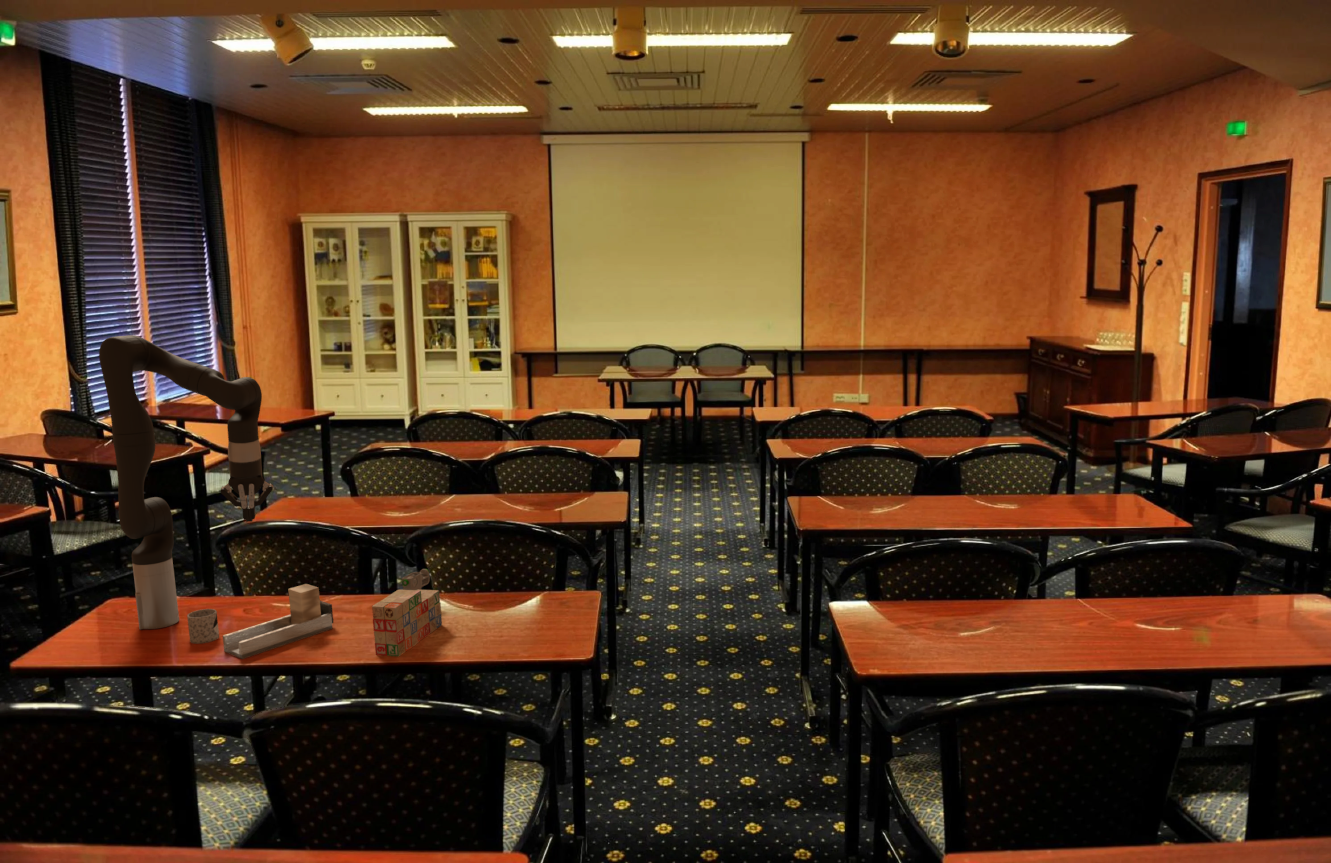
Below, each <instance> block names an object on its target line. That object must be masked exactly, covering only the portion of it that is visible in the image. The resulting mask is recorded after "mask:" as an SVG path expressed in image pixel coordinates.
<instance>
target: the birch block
mask: <svg viewBox="0 0 1331 863" xmlns="http://www.w3.org/2000/svg"><path fill="white" fill-rule="evenodd" d="M319 590H320V589H319V586H318V587H317V586H315V585H311V584H308V583H304V584H300V585H298V586H294V587H290V588H288V599H289V610H290V612H289V614H291V623H292V625H293V624H296V623H299V622H303V621H306V620H309V619H312V618H315V617H318V616H321V609H320V601H321V600H320V591H319Z"/></svg>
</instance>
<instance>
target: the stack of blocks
mask: <svg viewBox="0 0 1331 863" xmlns="http://www.w3.org/2000/svg"><path fill="white" fill-rule="evenodd" d="M441 603H442V602H441V599H440V590H438V589H437V590H436V589H435V590H434V589H421V590H403V589H397V590H396V591H394V592H392V593H390V594H389V595H388V596H386V597H385V598H383V599H381V600H380V601H378V602H376V603H374V604H373V605H372V606H371V611H372V612H371V613H372V626H373V627H372V628H373V634H374V648H375V655H377V656H387V657H388V656H390V657H400V656H402V655H403V654H405V653H406V652H407V651H409V650H411V647H412V648H413V647H414V646H416V645H417V644H418V643H419V642H420V641H422V640H423V639H425V638H426V637H427V636H429V634H431V633H433V632H434V631H435V630H436V629H438V628H440V627H441V626H443V621H442V607H441V606H442V605H441ZM402 653H403V654H402ZM401 654H402V655H401Z"/></svg>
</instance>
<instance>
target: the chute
mask: <svg viewBox="0 0 1331 863" xmlns="http://www.w3.org/2000/svg"><path fill="white" fill-rule="evenodd" d="M320 609H321V616H318V617H315V618H312V619H309V620H306V621H303V622H299V623H296V624H293V625H292V623H291V613H289V614H287V615H284V616H282V617H278V618H275V619H271V620H269V621H265V622H262V623H259V624H256V625H252V626H249V627H246V628H244V629H243V628H242V629H239V630H236V631H233V632H230V633H227V634H223V635H222V643H223V644H222V645H223V652H225V653H227V654H229V655H232V656H234V657H236V658H238V659H240V660H244V659H246V658H251V657H252V656H253V657H254V656H256V655H259V654H262V653H265V652H267V651H271V650H274V649H277V648H279V647H282V646H286V645H289V644H292V643H294V642H298V641H300V640H303V639H307V638H310V637H313V636H316V635H318V634H321V633H323V632H327V631H330V630H333V624H334V615H333V604H332V603H329V602H326V601H323V600H320Z"/></svg>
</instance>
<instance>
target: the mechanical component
mask: <svg viewBox="0 0 1331 863" xmlns="http://www.w3.org/2000/svg"><path fill="white" fill-rule="evenodd" d="M429 570H430V569H428V568H422V569H421V570H419V571H413V572H411V573H409V574H407V575H405V576H403V577H401V583H402V590H422V588H424V586H427V585H428V584H429V583H430V579H431V578H430V571H429Z"/></svg>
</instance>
